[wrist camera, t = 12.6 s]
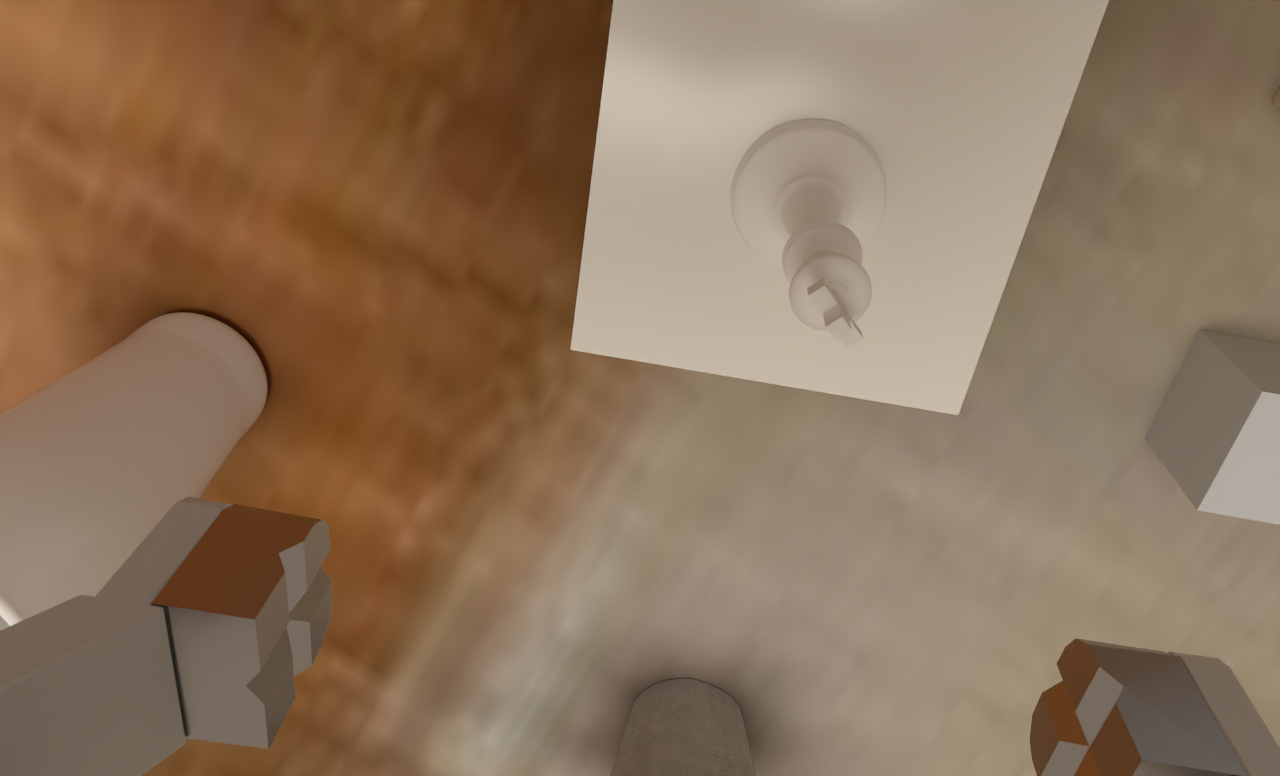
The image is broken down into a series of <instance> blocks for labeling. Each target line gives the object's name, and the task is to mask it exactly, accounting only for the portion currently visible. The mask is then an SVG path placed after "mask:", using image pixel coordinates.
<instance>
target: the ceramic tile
mask: <svg viewBox="0 0 1280 776" xmlns="http://www.w3.org/2000/svg"><path fill="white" fill-rule="evenodd" d="M1108 2H1109V0H613V8H612V16H611V24H610V32H609V40H608V48H607V57H606V65H605V73H604V81H603V89H602V97H601V105H600V113H599V122H598V130H597V138H596V146H595V154H594V162H593V170H592V179H591V187H590V195H589V203H588V211H587V219H586V227H585V235H584V244H583V252H582V260H581V268H580V276H579V284H578V292H577V300H576V309H575V317H574V325H573V333H572V341H571V349H570V350H575V351H580V352H586V353H592V354H598V355H604V356H610V357H616V358H622V359H628V360H634V361H640V362H646V363H652V364H658V365H664V366H669V367H675V368H681V369H687V370H693V371H699V372H705V373H711V374H717V375H723V376H729V377H735V378H741V379H747V380H753V381H758V382H764V383H770V384H776V385H782V386H788V387H794V388H800V389H806V390H812V391H818V392H824V393H830V394H836V395H842V396H847V397H853V398H859V399H865V400H871V401H877V402H883V403H889V404H895V405H901V406H907V407H913V408H919V409H925V410H931V411H936V412H942V413H948V414H954V415H958V414H959V412H960V409H961V406H962V403H963V401H964V398H965V395H966V392H967V390H968V387H969V384H970V381H971V379H972V376H973V373H974V370H975V368H976V365H977V362H978V359H979V357H980V354H981V351H982V348H983V346H984V343H985V340H986V337H987V335H988V332H989V329H990V326H991V324H992V321H993V318H994V315H995V313H996V310H997V307H998V304H999V302H1000V299H1001V296H1002V293H1003V291H1004V288H1005V285H1006V282H1007V280H1008V277H1009V274H1010V271H1011V269H1012V266H1013V263H1014V260H1015V258H1016V255H1017V252H1018V249H1019V247H1020V244H1021V241H1022V238H1023V236H1024V233H1025V230H1026V227H1027V225H1028V222H1029V219H1030V216H1031V214H1032V211H1033V208H1034V205H1035V203H1036V200H1037V197H1038V194H1039V192H1040V189H1041V186H1042V183H1043V181H1044V178H1045V175H1046V172H1047V170H1048V167H1049V164H1050V161H1051V159H1052V156H1053V153H1054V150H1055V148H1056V145H1057V142H1058V139H1059V137H1060V134H1061V131H1062V128H1063V126H1064V123H1065V120H1066V117H1067V115H1068V112H1069V109H1070V106H1071V104H1072V101H1073V98H1074V95H1075V93H1076V90H1077V87H1078V84H1079V82H1080V79H1081V76H1082V73H1083V71H1084V68H1085V65H1086V62H1087V60H1088V57H1089V54H1090V51H1091V49H1092V46H1093V43H1094V40H1095V38H1096V35H1097V32H1098V29H1099V27H1100V24H1101V21H1102V18H1103V16H1104V13H1105V10H1106V7H1107V5H1108ZM808 119H818V120H826V121H831V122H835V123H838V124H841V125H843V126H846V127H848V128H850V129H851V130H853V131H855V132H856V133H858V134H859V135H860V136H861V137H863V138H864V139H865V140H866V141H867V142H868V143H869V144H870V146H871V147H872V148H873V149H874V151H875V152H876V154H877V156H878V158H879V160H880V162H881V164H882V167H883V170H884V173H885V178H886V188H887V192H886V207H885V213H884V216H883V219H882V222H881V225H880V227H879V229H878V231H877V233H876V234H875V236H874V238H873V239H872V240H871V242H870V243H869V244H868V245H867V247H866V248H865V249H864V250H863V251H862V254H863V258H862V265H861V266H862V267H863V268H864V269H865V271H866V272H867V274H868V276H869V278H870V281H871V286H872V295H871V300H870V303H869V306H868V308H867V310H866V311H865V313H864V314H863V315H862V316H861V317H860V318H859V319H858V320H857V321H856V322H855V323H856V325H857V326H858V327H859V329H860V330H861V332H862V335H863V340H862V341H860V342H858V343H857V344H855V345H853V346H852V347H850V348H848V349H847V347H846V346H845V345H844V343H843V342H842V340H841V339H838V340H837V341H836V340H835V339H834V338H833V336H832V335H831V334H830V332H829V331H822V330H817V329H814V328H811V327H809V326H807V325H806V324H804V323H803V322H802V321H800V320H799V319H798V317H797V316H796V315H795V313H794V312H793V310H792V308H791V305H790V300H789V288H790V284H791V283H790V282H789V281H788V279H787V278H786V276H785V274H784V271H782V270H779V269H777V268H774V267H772V266H770V265H768V264H766V263H765V262H763V261H762V260H760V259H759V258H758V257H757V256H756V255H754V254H753V253H752V252H751V250H750V249H749V248H748V247H747V246H746V244H745V243H744V241H743V240H742V238H741V236H740V234H739V232H738V230H737V228H736V226H735V223H734V220H733V217H732V212H731V205H730V193H731V186H732V181H733V178H734V174H735V172H736V169H737V167H738V165H739V163H740V161H741V160H742V158H743V156H744V155H745V154H746V152H747V151H748V150H749V149H750V147H751V146H752V145H753V144H754V143H755V142H756V141H758V140H759V139H760V138H761V137H762V136H764V135H765V134H767V133H768V132H770V131H772V130H773V129H775V128H777V127H779V126H782V125H784V124H787V123H791V122H795V121H800V120H808Z"/></svg>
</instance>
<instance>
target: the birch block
mask: <svg viewBox="0 0 1280 776" xmlns="http://www.w3.org/2000/svg"><path fill="white" fill-rule="evenodd" d="M1272 104H1273V105H1276V106H1278V107H1280V87H1279V89H1278V91H1277V93H1276V95H1275V97H1274V100H1273V102H1272Z"/></svg>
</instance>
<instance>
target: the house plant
mask: <svg viewBox="0 0 1280 776" xmlns="http://www.w3.org/2000/svg"><path fill="white" fill-rule="evenodd" d="M610 776H756V775H755V771H754V766H753V762H752V757H751V752H750V748H749V743H748V739H747V734H746V730H745V725H744V721H743V716H742V713H741V710H740V707H739V706H738V704H737V703H736V702H735V700H734V699H733V698H732V696H730V695H728V694H727V693H725V692H724V691H722V690H720V689H718V688H716V687H714V686H712V685H710V684H707V683H704V682H701V681H698V680H695V679H673V680H666V681H663V682H660V683H657V684H655V685H652V686H651V687H649V688H648V689H646V690H645V691H643V692H642V693H641V694H640V695H639V697H638V698H637V699H636V700H635V702H634V705H633V708H632V711H631V714H630V717H629V720H628V723H627V726H626V729H625V732H624V735H623V738H622V741H621V745H620V748H619V751H618V754H617V757H616V760H615V763H614V766H613V769H612V772H611V775H610Z"/></svg>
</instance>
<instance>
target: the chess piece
mask: <svg viewBox="0 0 1280 776" xmlns="http://www.w3.org/2000/svg"><path fill="white" fill-rule="evenodd" d="M886 192H887V188H886V178H885V173H884V170H883V167H882V164H881V162H880V160H879V158H878V156H877V154H876V152H875V151H874V149H873V148H872V147H871V146H870V144H869V143H868V142H867V141H866V140H865V139H864V138H863V137H861V136H860V135H859V134H858V133H856V132H855V131H853V130H851V129H850V128H848V127H846V126H843V125H841V124H838V123H835V122H831V121H826V120H818V119H808V120H800V121H795V122H791V123H787V124H784V125H782V126H779V127H777V128H775V129H773V130H772V131H770V132H768V133H767V134H765V135H764V136H762V137H761V138H760V139H759V140H758V141H756V142H755V143H754V144H753V145H752V146H751V147H750V149H749V150H748V151H747V152H746V154H745V155H744V156H743V158H742V160H741V161H740V163H739V165H738V167H737V169H736V172H735V174H734V178H733V181H732V186H731V193H730V205H731V212H732V217H733V220H734V223H735V226H736V228H737V230H738V232H739V234H740V236H741V238H742V240H743V241H744V243H745V244H746V246H747V247H748V248H749V249H750V250H751V252H752V253H753V254H754V255H756V256H757V257H758V258H759V259H760V260H762V261H763V262H765V263H766V264H768V265H770V266H772V267H774V268H777V269H779V270H782V271H784V274H785V276H786V278H787V279H788V281H789V282H790V283H791V284H790V288H789V300H790V305H791V308H792V310H793V312H794V313H795V315H796V316H797V317H798V319H799V320H800V321H802V322H803V323H804V324H806V325H807V326H809V327H811V328H814V329H817V330H822V331H829V332H830V334H831V335H832V336H833V338H834V339H835V340H836V341H837V340H838V339H841V340H842V342H843V343H844V345H845V346H846V347H847V349H848V348H850V347H852V346H853V345H855V344H857V343H858V342H860V341H862V340H863V335H862V332H861V330H860V329H859V327H858V326H857V325H856V323H855V322H856V321H857V320H858V319H859V318H860V317H861V316H862V315H863V314H864V313H865V311H866V310H867V308H868V306H869V303H870V300H871V295H872V286H871V281H870V278H869V276H868V274H867V272H866V271H865V269H864V268H863V267H862V266H861V265H862V258H863V254H862V251H863V250H864V249H865V248H866V247H867V245H868V244H869V243H870V242H871V240H872V239H873V238H874V236H875V234H876V233H877V231H878V229H879V227H880V225H881V222H882V219H883V216H884V213H885V207H886Z"/></svg>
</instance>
